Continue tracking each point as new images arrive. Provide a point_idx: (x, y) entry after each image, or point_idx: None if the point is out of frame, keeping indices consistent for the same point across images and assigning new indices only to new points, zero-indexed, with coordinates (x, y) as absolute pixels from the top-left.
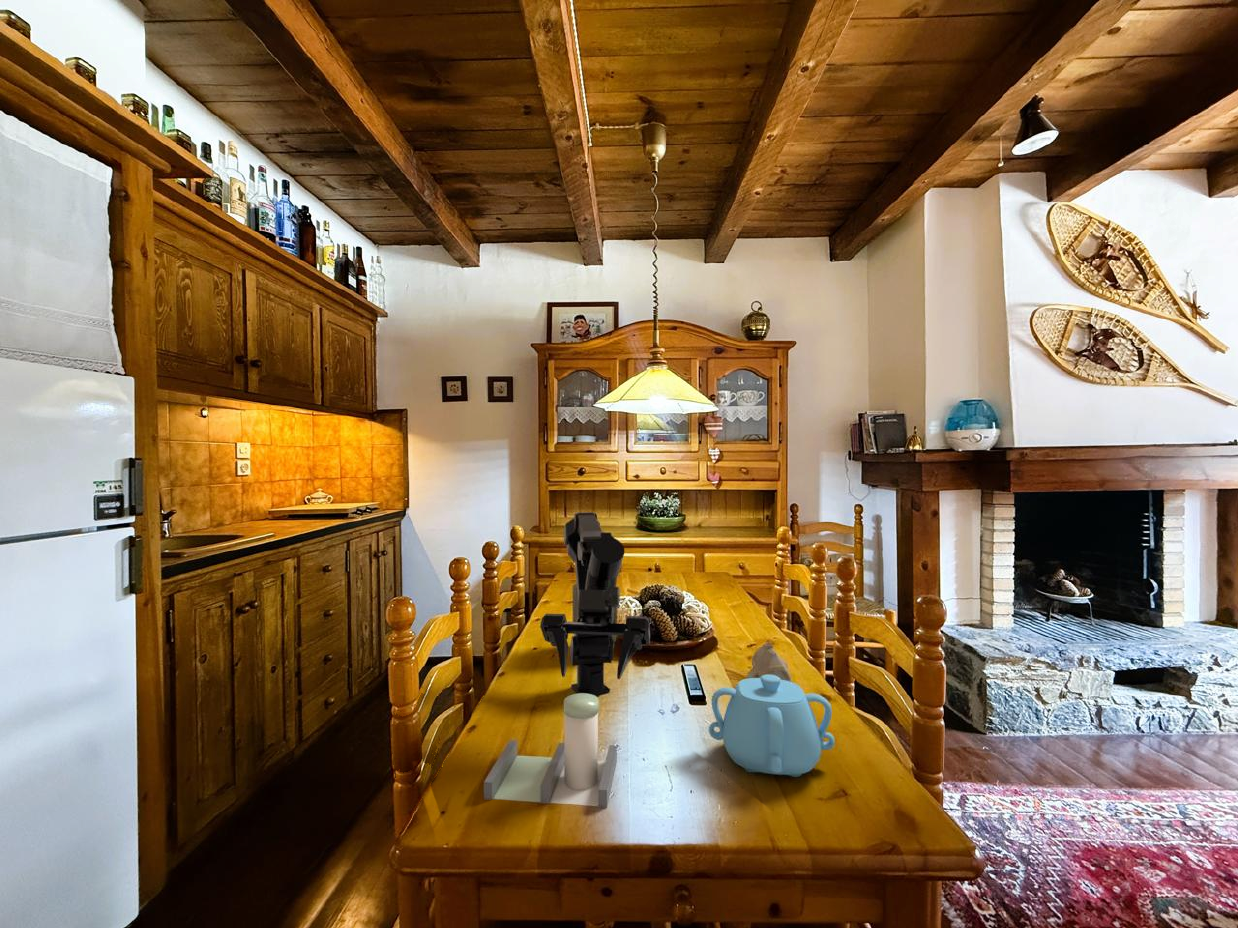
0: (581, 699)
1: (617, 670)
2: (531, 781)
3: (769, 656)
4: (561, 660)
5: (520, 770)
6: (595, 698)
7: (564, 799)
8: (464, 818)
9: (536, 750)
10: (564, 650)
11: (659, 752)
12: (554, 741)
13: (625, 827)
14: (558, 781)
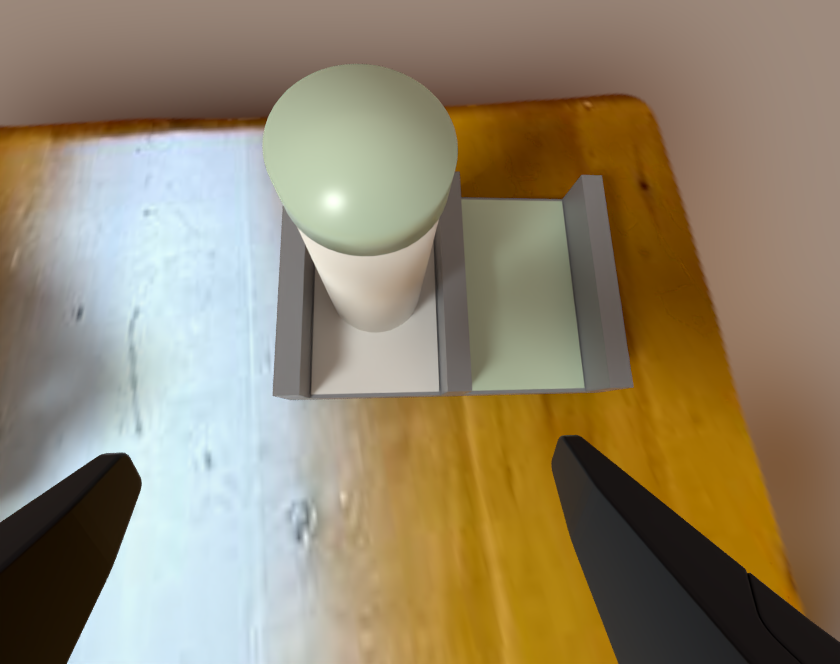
0: (363, 156)
1: (90, 485)
2: (500, 272)
3: None
4: (653, 512)
5: (545, 315)
6: (283, 171)
7: None
8: (593, 171)
9: (546, 461)
10: (714, 620)
11: (152, 511)
12: (509, 527)
13: (255, 171)
14: (433, 279)
